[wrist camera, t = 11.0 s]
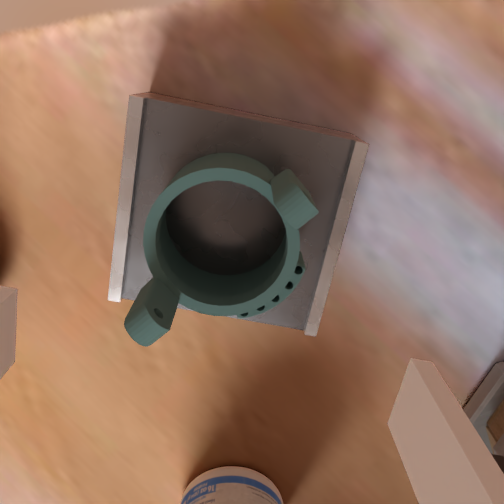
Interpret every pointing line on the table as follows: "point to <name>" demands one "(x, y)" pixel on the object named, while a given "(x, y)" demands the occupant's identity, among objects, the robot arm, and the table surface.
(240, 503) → the supplement tub
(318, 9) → the table surface
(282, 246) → the teal pail
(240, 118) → the stand
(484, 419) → the tankard
